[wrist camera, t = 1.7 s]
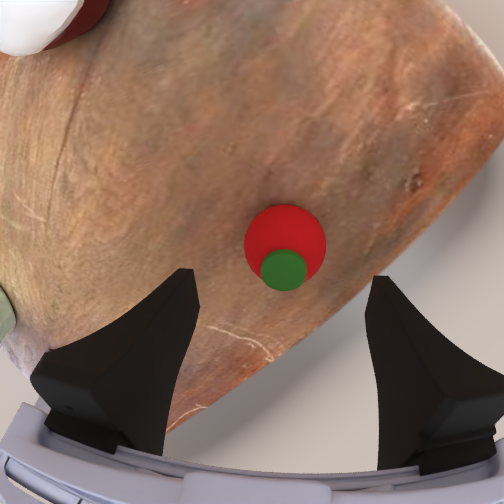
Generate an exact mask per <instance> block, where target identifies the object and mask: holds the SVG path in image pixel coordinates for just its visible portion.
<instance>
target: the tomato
mask: <svg viewBox="0 0 504 504" xmlns="http://www.w3.org/2000/svg"><path fill="white" fill-rule="evenodd" d="M244 249H245V256H246V259H247V262H248V264H249V266H250V267H251V269H252V270H253V272H254V273H255V274H256V275H257V276H258V277H259V278H261V279H262V280H263V281H264V282H265V283H266V284H267V285H268V286H269V287H271V288H273V289H275V290H279V291H289V290H293V289H295V288H297V287H299V286H300V285H301V284H302V283H303V282H305V281H307V280H308V279H310V278H311V277H312V276H313V275H314V274H315V273H316V272H317V271H318V269H319V268H320V266H321V264H322V262H323V260H324V257H325V252H326V239H325V235H324V232H323V229H322V227H321V225H320V224H319V222H318V221H317V219H316V218H315V217H314V216H313V215H312V214H310V213H309V212H308V211H306V210H304V209H302V208H300V207H297V206H293V205H277V206H273V207H270V208H268V209H266V210H264V211H263V212H261V213H260V214H259V215H257V216H256V217H255V219H254V220H253V221H252V222H251V224H250V226H249V228H248V230H247V232H246V235H245V242H244Z"/></svg>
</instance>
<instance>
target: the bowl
mask: <svg viewBox="0 0 504 504" xmlns="http://www.w3.org/2000/svg"><path fill="white" fill-rule="evenodd" d="M15 324H16V319H15V316H14V312H13V309H12V306H11V304H10V302H9V300H8V298H7V296H6V295H5V293H4V291H3V290H2V289H1V287H0V347H1V346H2V345H3V343H4V342H5V341H6V339H7V338H8V336H9V335H10V334H11V332H12V331H13V330H14V328H15Z"/></svg>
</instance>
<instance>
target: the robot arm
mask: <svg viewBox="0 0 504 504" xmlns="http://www.w3.org/2000/svg"><path fill="white" fill-rule="evenodd" d="M199 309H200V304H199V299H198V293H197V288H196V282H195V276H194V270H193V269H184V268H179V269H178V270H176V271H175V272H174V273H173V274H172V275H171V276H170V277H168V278H167V279H166V280H165V281H164V282H163V283H162V284H161V285H160V286H158V287H157V288H156V289H155V290H154V291H153V292H152V293H150V294H149V295H148V296H147V297H146V298H144V299H143V300H142V301H141V302H139V303H138V304H137V305H136V306H134V307H133V308H132V309H131V310H129V311H128V312H127V313H125V314H124V315H122V316H121V317H119V318H118V319H116V320H115V321H113V322H112V323H110V324H109V325H107V326H105V327H103V328H101V329H100V330H98V331H96V332H94V333H92V334H91V335H89V336H86V337H84V338H82V339H80V340H78V341H75V342H73V343H71V344H68V345H66V346H63V347H60V348H57V349H54V350H51V351H49V350H47V351H46V352H45V353H44V355H43V356H42V358H41V359H40V361H39V363H38V364H37V366H36V367H35V369H34V371H33V372H32V374H31V376H30V381H31V383H32V386H33V387H34V389H35V390H36V392H37V393H38V394H39V395H40V396H39V398H38V400H37V402H36V404H35V406H32V405H29V404H27V403H25V402H23V403H22V404H21V406H20V408H19V409H18V411H17V413H16V415H15V417H14V419H13V421H12V422H11V424H10V426H9V427H8V429H7V431H6V433H5V435H4V437H3V439H2V441H1V443H0V500H1V502H2V504H44V503H43V502H41V501H39V500H37V499H36V498H34V497H32V496H30V495H29V494H27V493H25V492H24V491H22V490H20V489H19V488H17V487H15V486H14V485H13V484H12V483H11V482H10V481H9V480H8V478H7V476H8V477H9V478H11V479H13V480H14V481H16V482H17V483H19V484H20V485H22V486H23V487H25V488H27V489H28V490H30V491H32V492H33V493H35V494H37V495H39V496H41V497H42V498H44V499H46V500H48V501H50V502H52V503H53V504H90V503H92V504H504V438H502V439H499V440H498V441H496V442H494V439H493V435H495V434H496V428H495V423H496V422H497V421H498V420H499V419H500V418H501V417H502V416H503V415H504V375H502V374H501V373H499V372H497V371H495V370H493V369H491V368H489V367H487V366H485V365H484V364H482V363H481V362H479V361H477V360H476V359H474V358H473V357H471V356H469V355H468V354H467V353H465V352H464V351H463V350H461V349H460V348H459V347H457V346H456V345H455V344H453V343H452V342H451V341H449V340H448V339H447V338H446V337H445V336H444V335H442V334H441V333H440V332H439V331H438V330H437V329H436V328H435V327H434V326H433V325H432V324H431V323H430V322H429V321H428V320H427V319H425V317H424V316H423V315H422V314H421V313H420V312H419V311H418V310H417V309H416V307H415V306H414V305H413V304H412V303H411V302H410V301H409V300H408V298H407V297H406V296H405V295H404V294H403V293H402V292H401V290H400V289H399V288H398V287H397V286H396V284H395V283H394V282H393V281H392V280H391V279H390V277H389V276H374V277H373V281H372V286H371V291H370V294H369V298H368V303H367V306H366V310H365V323H366V332H367V338H368V344H369V349H370V353H371V358H372V362H373V367H374V372H375V377H376V383H377V391H378V408H379V451H378V465H377V471H369V472H355V473H354V472H353V473H331V474H330V473H329V474H297V473H273V472H260V471H248V470H238V469H230V468H222V467H215V466H209V465H202V464H196V463H191V462H186V461H180V460H175V459H170V458H166V457H162V454H163V446H164V439H165V432H166V426H167V420H168V415H169V410H170V405H171V400H172V396H173V391H174V387H175V383H176V379H177V376H178V373H179V370H180V367H181V364H182V362H183V359H184V356H185V354H186V351H187V348H188V346H189V343H190V340H191V338H192V335H193V332H194V330H195V326H196V322H197V318H198V314H199Z"/></svg>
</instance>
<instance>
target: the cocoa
mask: <svg viewBox="0 0 504 504" xmlns="http://www.w3.org/2000/svg"><path fill="white" fill-rule="evenodd" d="M109 2H110V0H0V52H3V53H6V54H9V55H11V56H25V55H32V54H35V53H39V52H40V51H44V50H48V49H52V48H55V47H58V46H60V45H62V44H64V43H66V42H68V41H70V40H72V39H74V38H75V37H77V36H79V35H81V34H83V33H85V32H87V31H89V30H90V29H91V28H92V27H93V25H94V24H95V23H96V22H97V21H98V20H99V19H100V18H101V17H102V16H103V14H104V13H105V11H106V9H107V7H108V4H109Z"/></svg>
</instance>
